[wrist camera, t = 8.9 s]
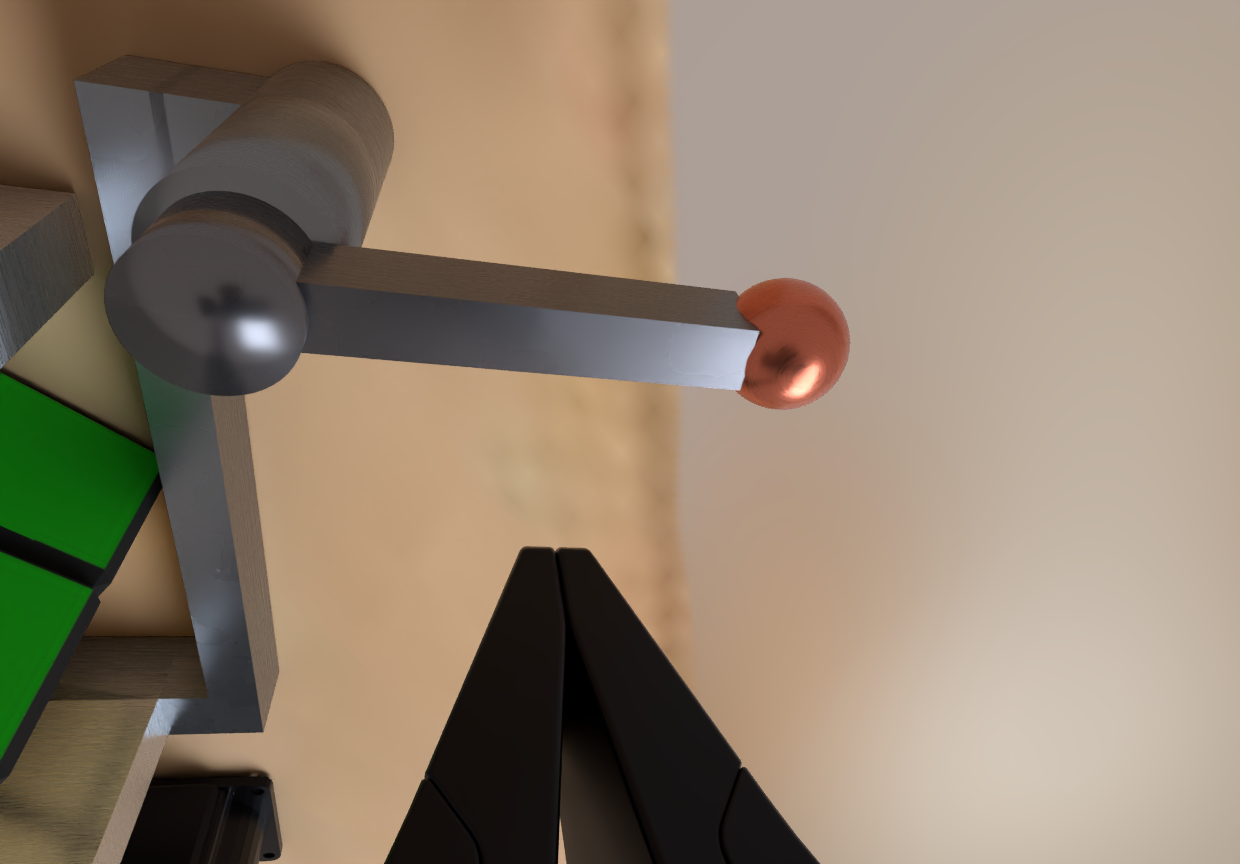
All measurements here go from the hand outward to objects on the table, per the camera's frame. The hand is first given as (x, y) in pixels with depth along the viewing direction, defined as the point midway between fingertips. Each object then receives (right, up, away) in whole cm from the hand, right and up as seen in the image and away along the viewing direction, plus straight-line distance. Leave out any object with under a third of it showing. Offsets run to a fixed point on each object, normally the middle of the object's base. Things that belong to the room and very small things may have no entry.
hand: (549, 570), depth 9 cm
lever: (-1, +4, +3) cm, 5 cm away
